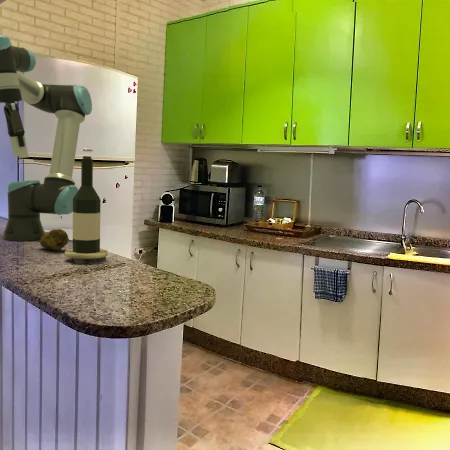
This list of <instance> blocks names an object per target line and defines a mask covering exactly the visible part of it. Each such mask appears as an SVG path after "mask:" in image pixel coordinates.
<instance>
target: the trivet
mask: <svg viewBox="0 0 450 450" xmlns="http://www.w3.org/2000/svg"><path fill="white" fill-rule="evenodd" d="M107 256H108V249H105V248H104V249H103V248H100V252H97V253H89V254H83V253H75V252H73V248H70V249H67V250H65V251H64V257H66V258H69V259H74V260H73V261H74V264H75V265H83V264H85V262H86V261H85V260H92V259H93V260H94V259H95V260H96V262H106V261H107Z"/></svg>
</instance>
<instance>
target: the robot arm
mask: <svg viewBox="0 0 450 450" xmlns="http://www.w3.org/2000/svg"><path fill="white" fill-rule="evenodd" d="M36 62H37V60H36V56H35V54H34V53H33V52H32V51H31V50H30V49H27V48H25V47H19V46H14V45H13V44H12V42H11V38H10V37H9V36H8V35H4V34H0V104H3V103H4V104H5V105H3V113H4V116H5V117H4V118H5V120H6V121H5V122H6V126H7V127H6V128H7V134H8V136H9V139H10V145H11V149H12V153H13V158H17V157H18V159H24V158H29V157H30V156H29V153H28V152H29V151H28V148H27V142H26V138H25V134H26V131H25V128H24V125H23V122H22V118H21V113H20V108H19V105H18V103H17V102H21V101H22V100H23V101H24V102H25V103H26V104H28V105H30V106H31V107H33V108H36V109H38V110H40V111H42V112H46V113H49V114H54V115H55V117H56V118H57V123H56V130H55V134H54V135H55V136H54V143H53V148H52V154H51V162H50V167H49V174H48V175H46V176H45V177H44V179H43V183H41V181H40V180H39V179H33V180H32V179H31V180H19V181H12V182H9V184H8V186H7V208H8V209H7V216H8V217H7V218H8V219H7V222H6V226H5V227H4V231H3V239H4V240H7V241H14V242H17V241H18V242H24V241H25V242H27V241H28V242H29V241H38V240H39V241H40V239H41V237H42V236H44V234H46V233H45V230H44V228H43V227H44V226H43V224H42V222H41V221H42V220H41V214H49V215H59V216H61V215H70V214H73V198H74V196H75V195H76V193H77V192H78V190H79V188H78V187H77V186H76V183H75V181H74V179H73V174H74V166H75V159H76V152H77V148H78V138H79V132H80V125H81V124H82V123H83V122H85V118H86V116H88V115H89V116H90V114H91V113H92V111H93V103H92V97H91V94H90V92H89V90H88V88H87V87H85V86H84V85H80V84H79V85H77V84H73V85H72V84H46V83H41V82H39V81H37V80H33V79H31V78H30V77H28V76H27V75H26V74H24V73H29V72H31V71H33V70H34V69H35V66H36V64H37V63H36Z"/></svg>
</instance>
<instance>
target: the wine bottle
mask: <svg viewBox="0 0 450 450" xmlns="http://www.w3.org/2000/svg"><path fill="white" fill-rule="evenodd" d="M80 161H81V173H80V174H81V177H80V184H81V186H80V187H79V188H78V192H77V193H76V195H75V196H74V198H73V212H72V249H73V252H75V253H83V254H89V253H97V252H100V249H101V198H100V196H99V195H98V193H97V191H96V189H95V188H94V183H93V182H94V181H93V177H94V176H93V175H94V173H93V171H94V169H93V168H94V159H93V158H92V156H91V155H90V156H86V155H85V156H84V155H83V156H82V158H81V160H80Z"/></svg>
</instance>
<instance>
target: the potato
mask: <svg viewBox="0 0 450 450" xmlns="http://www.w3.org/2000/svg"><path fill="white" fill-rule="evenodd" d="M68 242H69V236H68V233H67V232H66V231H65V230H63V229H60V228H58V229H51V230H49V231H48V232H46V233H45V234H44V236H42V237H41V239H40V240H39V243H40V246H41V247H42V248H44V249H48V250H50V251H59V250H61V249H63V248H64V247H66V245H68Z"/></svg>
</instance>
